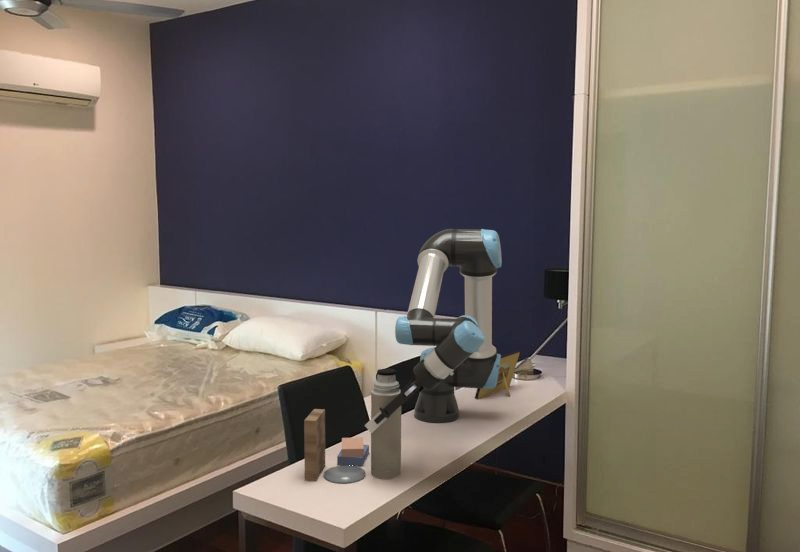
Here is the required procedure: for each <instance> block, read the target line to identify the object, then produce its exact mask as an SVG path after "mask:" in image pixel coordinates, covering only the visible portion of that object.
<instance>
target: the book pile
mask: <svg viewBox="0 0 800 552" xmlns="http://www.w3.org/2000/svg"><path fill="white" fill-rule="evenodd" d="M369 454H370V445H369V444H364V437H342V438H341V449H340V451H339V453H338V454H337V456H336V458H337V460H336V461H337V462H336V463H337V464H336V466H343V465H350V466H352V465H353V466H356V467H361V466H364V465H363V464H365V462H366V460H367V458H368V456H369Z"/></svg>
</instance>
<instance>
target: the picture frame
mask: <svg viewBox="0 0 800 552" xmlns="http://www.w3.org/2000/svg"><path fill="white" fill-rule="evenodd" d="M520 353H521V351H518V350H517V351H513V352H511V353H507V354H504V355H501V359H500V365H499V372H498V379H497V384H496V386H495V387H494V388H492V389H480V388H476V392H475V395H474V399H476V400H479V399H480V400H481V399H482V398H485V397H487V396H490V395H492V394H495V393H497V392H499V391H501V390H502V391H503V390H505V389H506V392H507V394H508V396H509V398H510V397H511V393H510V389H509V388H510V386H511V382H512V380H513V376H514V373H515V370H516V367H517V363H518V360H519V356H520Z"/></svg>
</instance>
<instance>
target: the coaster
mask: <svg viewBox="0 0 800 552" xmlns="http://www.w3.org/2000/svg"><path fill="white" fill-rule="evenodd" d="M366 474H367V473H366V470H365V469H363V468H362V467H361V466H349V465H335V466H333V467H329V468H328V469H326V470H325V471H324V472H323V477H324V479H325V480H326V481H328V482H330V483H335V484H338V485H339V484H343V485H344V484H345V485H346V484H354V483H357V482H361V481H362V480H364V479H365V478H366ZM364 477H365V478H364Z"/></svg>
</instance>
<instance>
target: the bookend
mask: <svg viewBox="0 0 800 552" xmlns="http://www.w3.org/2000/svg"><path fill="white" fill-rule="evenodd" d="M303 421H304V422H303V423H304V424H303V432H304V435H303V436H304V440H303V441H304V445H303V446H304V450H303V451H304V481H305V482H317V480H318V479H319V477H320V476H321V474H322V472H323V471H324V469H326V409H325V408H323V409H321V408H314V409H312V411H311V412H310V413H309V414H308V416H307V417H305V419H304V420H303Z"/></svg>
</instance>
